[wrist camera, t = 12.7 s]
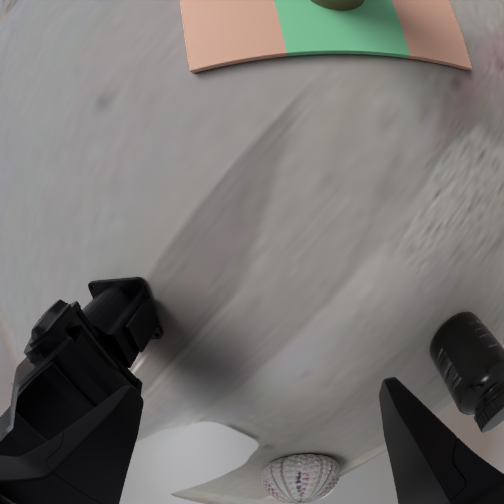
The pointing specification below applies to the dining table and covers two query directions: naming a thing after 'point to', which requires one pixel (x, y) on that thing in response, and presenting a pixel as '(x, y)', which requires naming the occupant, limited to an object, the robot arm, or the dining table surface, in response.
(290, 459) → the sea urchin shell
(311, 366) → the dining table surface
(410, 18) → the board
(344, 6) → the walnut peg
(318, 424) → the dining table surface
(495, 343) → the supplement bottle
